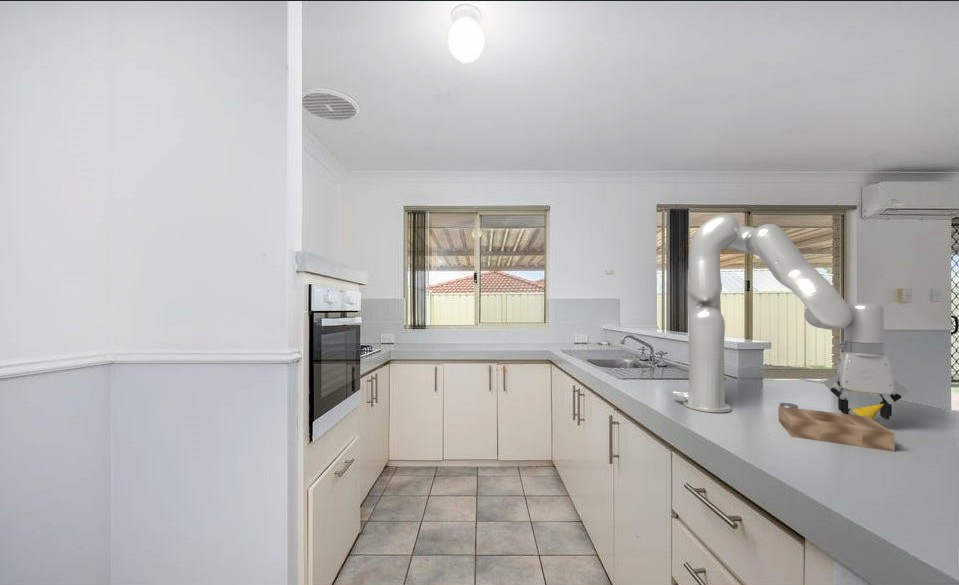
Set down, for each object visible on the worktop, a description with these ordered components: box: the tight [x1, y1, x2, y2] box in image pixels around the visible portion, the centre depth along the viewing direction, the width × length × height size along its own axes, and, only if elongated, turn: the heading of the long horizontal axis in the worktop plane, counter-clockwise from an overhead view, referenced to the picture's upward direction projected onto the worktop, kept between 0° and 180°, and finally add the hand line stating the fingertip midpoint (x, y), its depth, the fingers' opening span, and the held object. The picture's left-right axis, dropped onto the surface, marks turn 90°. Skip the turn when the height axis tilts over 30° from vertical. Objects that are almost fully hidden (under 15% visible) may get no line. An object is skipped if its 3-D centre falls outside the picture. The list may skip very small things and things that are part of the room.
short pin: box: [779, 402, 799, 409], centre depth 106 cm, size 4×4×4 cm
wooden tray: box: [778, 405, 896, 452], centre depth 93 cm, size 18×14×4 cm
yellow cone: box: [848, 403, 884, 420], centre depth 98 cm, size 5×5×10 cm
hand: (864, 415), depth 99 cm, fingers closed on yellow cone, 7 cm apart
